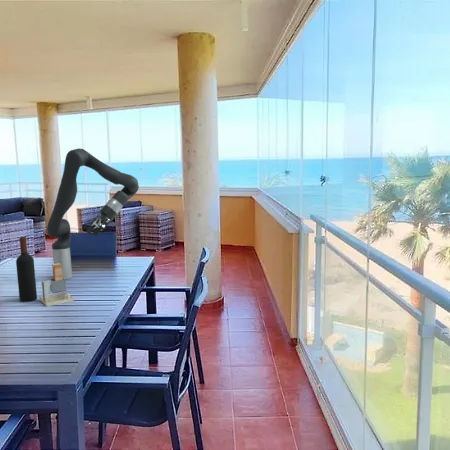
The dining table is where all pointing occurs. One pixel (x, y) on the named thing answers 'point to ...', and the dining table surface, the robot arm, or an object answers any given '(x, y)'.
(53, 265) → the tan wooden block
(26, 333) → the dining table surface
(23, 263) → the wine bottle
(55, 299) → the cup bracket
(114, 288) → the dining table surface
